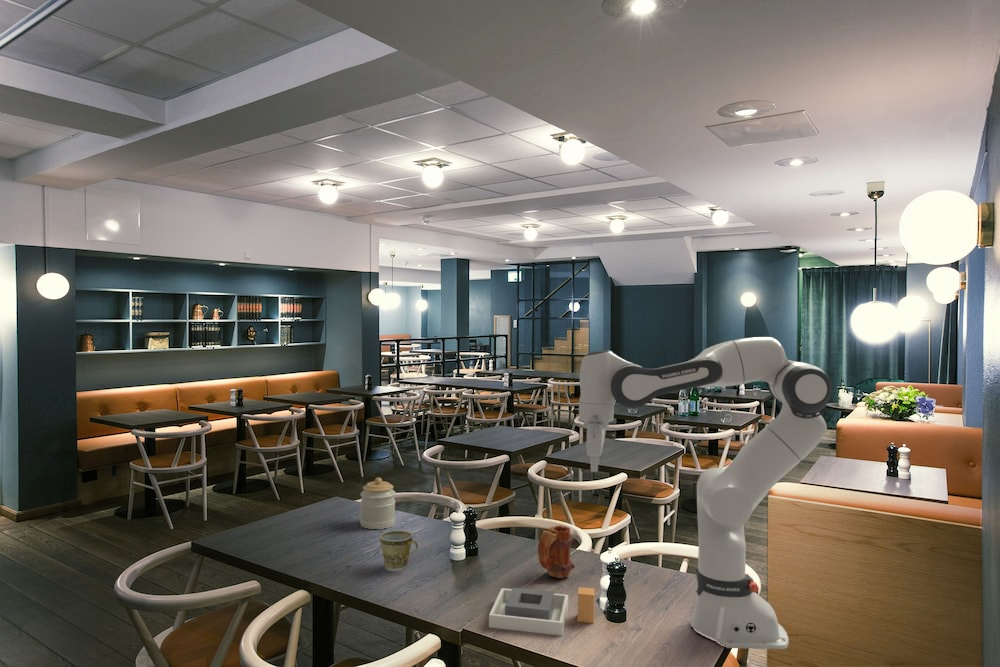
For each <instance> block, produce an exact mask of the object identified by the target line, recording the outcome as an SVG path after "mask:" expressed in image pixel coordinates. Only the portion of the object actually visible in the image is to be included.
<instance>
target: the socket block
mask: <svg viewBox="0 0 1000 667" xmlns="http://www.w3.org/2000/svg"><path fill="white" fill-rule="evenodd" d="M511 589H512V591H511V593H510V596H509V598H508V600H507V603H506V605H505V615H508V616H517V617H527V618H536V619H545V620H551V619H552V615H553V611H554V594H555V591H549V590H538V589H529V588H520V587H519V588H518V587H512V588H511Z"/></svg>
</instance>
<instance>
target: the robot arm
mask: <svg viewBox="0 0 1000 667" xmlns="http://www.w3.org/2000/svg"><path fill="white" fill-rule="evenodd" d="M753 382H763V383H764V385H765V386H766V388H767V390H768V392H769V394H771V396H772V397H773V398H774V399H776V400H777V401H778V402H780V403H781V404H782V405H781V410H780V412H778V415H777V416H776V417H775V419H773V420H772V421H771V422H769V423H768V424H767V425H766V426H765V427H764V428H762V429H761V430H760V431H759V432H758V433H757V434H755V436H753V437H752V438H751V439H750V440H748V442H746V443H745V444H744V445H743V446H742V447H741V448H740V450H739V451H738V453H737V455H736V456H735V457H734V458H733V459H732V461H731V462H730V463H729V464H728V465H727V466H726V468H723V467H719V466H718V467H709V468H707V469H705V470H704V471H703V472H701V473H700V476H699V478H698V479H697V484H696V509H697V510H696V512H697V531H698V555H697V556H698V557H697V558H698V561H697V563H698V566H697V568H696V570H695V571H696V572H695V591H696V598H695V603H694V604H695V605H694V609H693V613H692V617H691V620H690V622H691V624H692V626H693V627H694V628H695V629H696V630H697V631H699V632H701V633H703V634H705V635H707V636H709V637H712V638H714V639H716V640H717V641H718V642H720V644H722V645H724V646H725V647H726V648H725V649H751V650H752V649H754V650H755V649H757V650H762V649H763V650H786V649H787V648H788V646H789V636H788V633H787V631H786V630H785V628H784V627H783V626H782V624H780V623H779V622H778V618H777V614H776V611H775V610H774V609H773V607H772V605H771V604H770V603H769V602H768V601H766V600H765V599H764V598H762V597H761V596H760V595H759V594H758V592H759V590H760V588H759V586H758V584H757V582H755V580H754V579H753V578H752V577H751V575H750V574H748V573H746V549H747V548H746V547H747V546H746V543H747V542H746V537H745V529H744V525H745V524H746V523H747V522H748V521H749V520H750V517H751V516H752V513H753V512H754V510H755V509H756V508H757V506H758V505H759V504H760V503H761V502H762V501H763V499H764V498H765V497H766V496H767V494H768V493H769V492H770V491H771V489H772V488H773V486H775V485H776V484H777V482H779V481H780V480H781V479H783V477H784V476H786V474H788V473H789V472H790V471H791V470H792V469H793V468H795V467H796V466H798V464H799V463H801V462H802V461H803V460H804V459H806V457H807V456H808V455H809V454H810V453H811V452H812V451H813V450H814V449H815V448H816V447H817V446H818V445H819V443H820V442H821V441H822V440H823V438H824V437H825V436H826V435H827V434H826V433H827V431H828V426H827V422H826V421H825V419H824V417H823V416H822V415H823V414H824V413H825V410H826V407H827V404H828V402H829V401H830V399H831V396H832V392H833V384H832V381H831V379H830V377H829V376H828V374H827V373H826V372H825V371H824V370H823V369H821V368H820V367H818V366H816V365H813V364H810V363H807V362H802V361H794V360H790V359H788V357H787V355H786V352H785V349H784V347H783V346H782V344H781V342H779V341H778V340H777V339H776V338H774V337H772V336H771V337H770V336H756V337H755V336H754V337H745V338H739V339H734V340H733V339H732V340H728V341H723V342H721V343H717V344H714V345H712V346H709V347H707V348H705V349H703V350H702V351H701V352H700V353H699V354H698V355H697V356H695V357H694V358H692V359H689V360H688V361H685V362H680V363H676V364H675V363H674V364H670V365H665V366H661V367H656V368H646V367H643V366H642V365H639V364H636V363H633V362H631V361H627V360H625V359H623V358H622V357H620V356H618V355H617V354H615V353H614V352H613V351H612V350H609V349H608V350H605V349H604V350H597V351H596V350H595V351H592V352H588V353H587V354H585V355H584V356H583V358H582V359H581V362H580V368H579V387H580V395H579V399H578V400H579V402H578V403H579V404H578V420H580V421H582V422H583V427H585V428H586V445H585V446H586V447H585V448H586V456H588V457H589V462H590V471H591V473H597V472H598V471H599V464H600V460H601V456H602V453H603V447H604V443H605V438H606V431H607V428H609V423H611V422H614V414H615V412H614V411H615V401H616V402H617V403H618V404H619V405H621V406H622V407H624V408H627V409H628V408H629V409H636V408H641V407H643V406H645V405H647V404H648V403H650V402H651V401H653V400H654V399H656V398H657V397H659V396H662V395H665V394H669V393H674V392H680V391H683V390H688V389H694V388H701V387H702V388H706V387H708V388H710V387H711V388H721V387H725V388H726V387H734V386H741V385H746V384H749V383H750V384H751V383H753Z"/></svg>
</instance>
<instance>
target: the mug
mask: <svg viewBox="0 0 1000 667" xmlns="http://www.w3.org/2000/svg"><path fill="white" fill-rule="evenodd" d="M548 530H549V531H547V530H544V531H542V533H541V536H540V538H539V541H538V547H537V554H538V556H537V557H538V560H539V563H540V565H541V567H542V568H543V569H546V572H547V575H548V576H550V577H552V578H555V577H556V579H565V578H564V577H567V576H568V577H569V576H570V571H572V570H573V569H575V564H574V563H573V562H572V561H571V546H572V545H573V544H574V543H575V540H574V539H573V537H572V536H571V529H570V527H568V526H565V525H555V526H551V527H550V528H549V529H548ZM568 577H567V578H568Z"/></svg>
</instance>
